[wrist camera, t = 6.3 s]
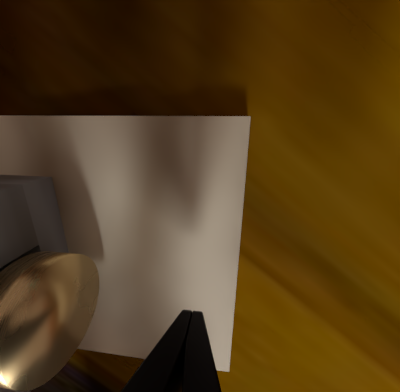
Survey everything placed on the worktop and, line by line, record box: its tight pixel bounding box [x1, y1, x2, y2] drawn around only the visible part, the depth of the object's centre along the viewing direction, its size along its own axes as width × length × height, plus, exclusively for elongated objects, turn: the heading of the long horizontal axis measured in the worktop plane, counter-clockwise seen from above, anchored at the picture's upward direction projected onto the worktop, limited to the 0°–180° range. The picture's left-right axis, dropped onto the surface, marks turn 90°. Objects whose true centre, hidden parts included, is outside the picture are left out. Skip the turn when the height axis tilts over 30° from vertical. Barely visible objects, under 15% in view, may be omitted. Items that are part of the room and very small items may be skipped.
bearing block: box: [0, 115, 251, 392], centre depth 10 cm, size 22×16×7 cm
